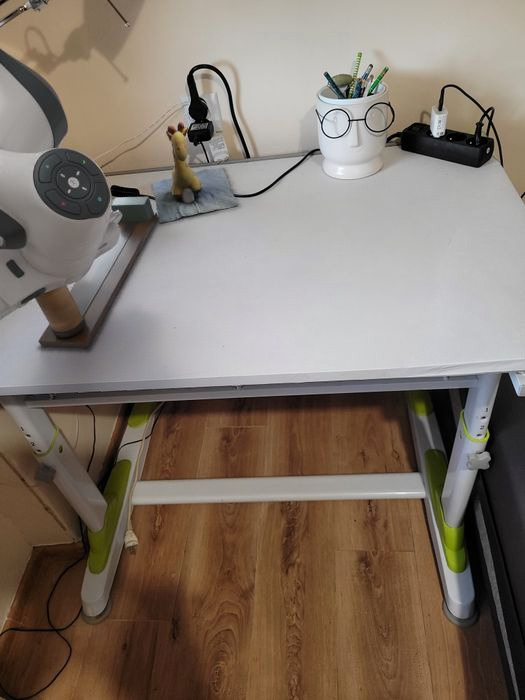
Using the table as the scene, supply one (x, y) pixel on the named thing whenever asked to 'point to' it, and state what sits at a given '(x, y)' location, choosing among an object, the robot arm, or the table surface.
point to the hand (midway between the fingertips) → (48, 283)
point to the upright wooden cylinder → (61, 312)
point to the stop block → (133, 209)
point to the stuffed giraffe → (190, 185)
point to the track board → (102, 284)
